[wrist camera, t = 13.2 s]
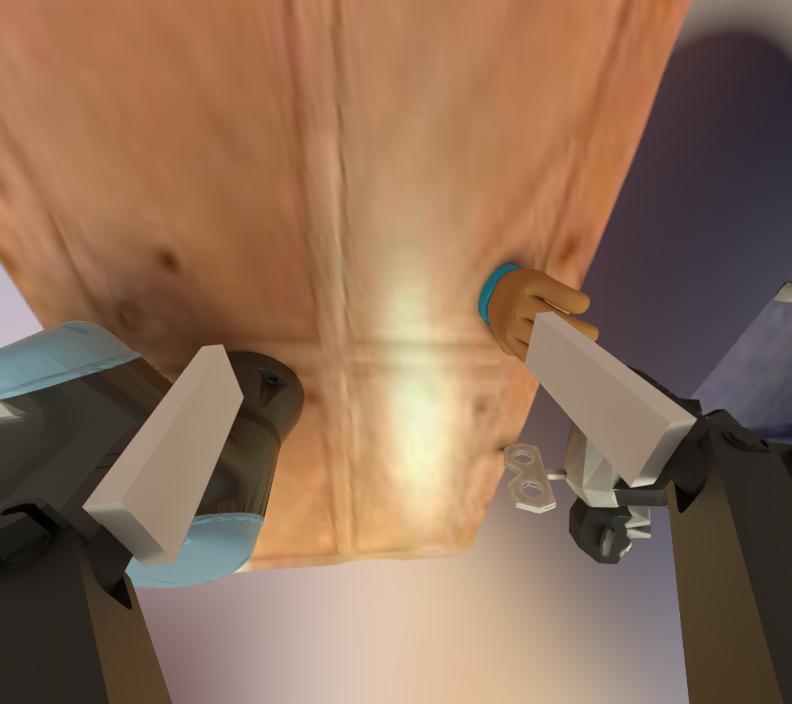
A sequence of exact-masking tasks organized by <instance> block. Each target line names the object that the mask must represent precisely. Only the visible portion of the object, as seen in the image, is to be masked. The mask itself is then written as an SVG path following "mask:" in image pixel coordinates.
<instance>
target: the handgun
mask: <svg viewBox="0 0 792 704" xmlns="http://www.w3.org/2000/svg"><path fill="white" fill-rule="evenodd" d="M773 300H776V301H782V302H789V303H792V283H786V284H785V285H784V286H783V287H782V288H781V290H780V291H779V292H778V294H777V295H776V296H775V298H774V299H773Z"/></svg>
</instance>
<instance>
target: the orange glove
mask: <svg viewBox="0 0 792 704" xmlns="http://www.w3.org/2000/svg"><path fill="white" fill-rule="evenodd" d="M544 300H546V301H548V302H550V303H551V304H553V305H555V306H557V307H559V308H561V309H563V310H565V311H567V312H570V313H573V314H581V313H583V312H584V311H585V310H586V309H587V308H588V306H589V302H590V299H589V298H588V296H587V295H585V294H584V293H582V292H580V291H577V290H575V289H573V288H570V287H568V286H566V285H564V284H562V283H561V282H559V281H557V280H555V279H553V278H551V277H550V276H548V275H547V274H545V273H543V272H540V271H538V270H533V269H519V268H518V267H516V266H515V265H513V264H506V265H504V266H502V267H500V268H498V269H497V270H496V271H495V272H494V273H493V274H492V275H491V276H490V277H489V279H488V280H487V282H486V283H485V285H484V287H483V289H482V292H481V295H480V298H479V312H480V315H481V316H482V317H483V319H484V320H485V321H486V323H487V324H488V325H490V326H491V329H492V331H493V333H494V336H495V338H496V340H497V342H498V344H499V346H500V347H501V349H502V350H503V352H504V353H506V354H507V355H510V356H517V357H518V358H519V359H520V360H521V361H522V362H523V363H525V360H526V356H527V352H528V347H529V343H530V338H531V334H532V330H533V325H534V321H535V317H536V313H542V312H552V311H553V312H554V313H556V314H557V315H558V316H560V317H561V318H562V319H564V320H565V321H566V322H568V323H569V324H570V325H572V326H573V327H574V328H576V329H577V330H578V331H580V332H581V333H582V334H584V335H585V336H586V337H588V338H589V339H590V340H592V341H593V342H595V341H596V340H597V338H598V330H597V328H596V327H594V326H592V325H590V324H588V323H586V322H583V321H581V320H579V319H576V318H574V317H572V316H570V315H568V314H566V313H564V312H562V311H561V310H559V309H557V308H555V307H553V306H552V305H550V304H548V303H547V302H545V301H544Z"/></svg>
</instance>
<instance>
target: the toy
mask: <svg viewBox="0 0 792 704" xmlns="http://www.w3.org/2000/svg"><path fill="white" fill-rule="evenodd" d="M680 399H681V400H683V401H684V402H685V403H687V404H688V405H689V406H691V407H692V408H694V409H695V410H696V411H698V412H699V413H701V414H702V409H701V405H700V401H699V400H694V399H682V398H680ZM704 416H705V417H706V418H707V419H709V420H710V421H712V422H713V423H722V422H725V423H730V424H735V425H738V426H740V424H739V423H738V422H737V421H736V420H735V419H734V418H733V417H732V416H731V415H730V414H729V413H728V412H727V411H726V410H725V409H718V410H714V411H712V412H710V413H708V414H706V415H704ZM522 454H524V455H526V456H528V457H530V458H531V459H532V461H530V462H527V463H521V462H520V461H518V460H516V459H515V457H516V456H519V455H522ZM504 466H505V467H507V468H509V469H510V470H512V471H513V472H515V473H517V474H518V475H517V476H516V477H515V478H514V479H512V480H511V481H510V482H509V483H508V490H509V492H510V494H511V497H512V499H513V501H514V504H515V506H516V507H517V508H521V509H525V510H529V511H533V512H537V513H542V512H544V511H547V510H549V509H552V508H555V507H556V501H555V498H554V495H553V492H552V489H551V486H550V483H549V479H553V480H559V479H560V480H566V481H567V483H568V484H569V485H570V487H571V488H572V489H573V491H574V492H575V494H576V495H577V497H578V498H577V500H576V502H575V503H574V504H573V506H572V507H571V509H570V519H569V520H570V521H569V532H570V534H571V535H572V537H573V539H574V540H575V542H576V543H577V545H578V547H579V548H581V549H582V550H583V551H584V552H585V553H587V554H588V555H590V556H591V557H592V558H593V559H594V560H595V561H597V562H598V563H607V564H617V563H618V562H619V560H620V558H621V557H622V555H623V554H624V552H627V551H628V550H630V549H631V545H632V543H631V541H632V539H633V538H650V536H651V523H650V510H649V507H648V506H667V507H668V498H667V499H665V500H664V502H663V503H662V504H661V505H658V504H656V502H657V498H658V497H659V496H660V494H661V493H662V491H663V490H664V489H665V487H666V486H667V484H668V483H669V482H670V480H671V479H670V478H669V477H668V476H667V475H666V474H665V473H664V472H663V471H662V472H661V473H660V475H659V476H658V478H657V479H656V481H655V482H654V484H650V485H644V486H638V487H631V488H630V486H629V485H628V484H627V483H626V482H625V481H624V480H623V478H622V477H621V476H620V475H619V474H618V473H617V471H616V470H615V469H614V468H613V467H612V466H611V464H610V463H609V462H608V461H607V460H606V459H605V458H604V456H603V455H602V454H601V453H600V452H599V451H598V449H597V448H596V447H595V446H594V445H593V444H592V442H591V441H590V440H589V439H588V438H587V437H586V435H585V434H584V433H583V432H582V431H581V430H580V429H579V427H578V426H577V425H576V424H575V423H574V422H572V426H571V431H570V435H569V439H568V443H567V448H566V452H565V457H564V461H563V469H545V467H544V464H543V461H542V458H541V455H540V452H539V449H538V447H536V446H532V445H529V444H525V443H519V444H515V445H510V446H506V447H505V451H504ZM527 486H532V487H534V488H538V489H539V490H540V493H541V495H539V496H538V497H537V498H533V497H530V496H527V495H524V492H523V490H522V489H524V488H525V487H527Z"/></svg>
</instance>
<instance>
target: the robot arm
mask: <svg viewBox="0 0 792 704" xmlns="http://www.w3.org/2000/svg"><path fill="white" fill-rule="evenodd" d="M141 356H142V354H141V353H140V352H139V351H134V350H132V349H131V348H130V347H128V346H127V345H126V344H125V343H123V342H122V341H121V340H119V339H118V338H117V337H116V336H114V335H113V334H112V333H111V332H109V331H108V330H107V329H105V328H104V327H102V326H101V325H99V324H97V323H94V322H90V321H84V320H73V321H67V322H64V323H61V324H58V325H55V326H53V327H50V328H48V329H46V330H43V331H41V332H38V333H36V334H34V335H32V336H29V337H26V338H24V339H22V340H19V341H17V342H14V343H12V344H10V345H8V346H5V347H3V348H0V704H172V702H171V699H170V696H169V693H168V690H167V687H166V684H165V681H164V678H163V675H162V671H161V669H160V665H159V662H158V659H157V656H156V653H155V650H154V648H153V645H152V641H151V638H150V635H149V632H148V629H147V627H146V623H145V620H144V617H143V615H142V611H141V608H140V605H139V602H138V599H137V596H136V593H135V590H134V587H133V586H135V587H145V588H146V587H147V588H172V587H173V588H174V587H185V586H192V585H198V584H203V583H207V582H211V581H214V580H217V579H220V578H223V577H225V576H228V575H230V574H232V573H233V572H235V571H237V570H238V569H239V568H241V567H242V566H243V565H244V564H245V563H246V562H247V561H248V559H249V558H250V556H251V554H252V553H253V550H254V547H255V544H256V541H257V538H258V534H259V531H260V528H261V527H262V525H263V524H264V517H265V513H266V508H267V504H268V499H269V495H270V490H271V486H272V482H273V477H274V473H275V468H276V464H277V459H278V455H279V451H280V447H281V444H282V443H283V442H284V440H285V439H286V438H287V436H288V435H289V433H290V432H291V431H292V429H293V428H294V426H295V425H296V424H297V422H298V420H299V418H300V416H301V413H302V409H303V404H304V392H303V388H302V385H301V383H300V382H299V380H298V378H297V377H296V376H295V375H294V373H293V372H292V371H291V370H289V369H288V368H287V367H286V366H284V365H283V364H281V363H280V362H278V361H276V360H274V359H272V358H269V357H266V356H263V355H259V354H255V353H247V352H235V353H228V354H226V352H225V349H224V347H223V344H221V345H211V346H202V347H201V349H200V350H199V351H198V353H197V354H196V355H195V357H194V358H193V359H192V361H191V362H190V363H189V365H188V366H187V367H186V369H185V370H184V371H183V373H182V374H181V375H180V377H179V378H178V379H177V381H176V382H175V383H174V385H173V384H172V383H171V382H169V381H168V380H167V379H166V378H165V377H164V376H163V375H161V374H160V373H159V372H158V371H157V370H156V369H155V368H153V367H152V366H151V365H150V364H149V363H148V362H146V361H145V360H144V359H143V358H142V357H141ZM525 366H526V367H527V368H528V369H529V371H530V372H531V373H532V374H533V375H534V376H535V378H536V379H537V380H538V381H539V382H540V383H541V384H542V386H543V387H544V388H545V389H546V390H547V391H548V393H549V394H550V395H551V396H552V397H553V398H554V399H555V400H556V402H557V403H558V404H559V405H560V406H561V408H562V409H563V410H564V411H565V412H566V413H567V415H568V416H569V417H570V418H571V419H572V420H573V422H574V423H575V424H576V425H577V426H578V427H579V429H580V430H581V431H582V432H583V433H584V434H585V435H586V437H587V438H588V439H589V440H590V441H591V442H592V444H593V445H594V446H595V447H596V448H597V449H598V451H599V452H600V453H601V454H602V455H603V456H604V458H605V459H606V460H607V461H608V462H609V463H610V464H611V466H612V467H613V468H614V469H615V470H616V471H617V473H618V474H619V475H620V476H621V477H622V478H623V480H624V481H625V482H626V483H627V484H628V485H629V486H630V488H631V487H638V486H644V485H650V484H654V482H655V481H656V479H657V478H658V476H659V475H660V473H661V472H662V471H663V472H664V473H665V474H666V475H667V476H668V477H669V478H670V479H671V480H670V482H669V483H668V484H667V486H666V487H665V489H664V490H663V491H662V493H661V494H660V496H659V497H658V498H657V502H656V504H658V505H661V504H662V503H663V502H664V500H665V499H667V498H668V507H667V508H668V509H669V514H670V524H671V534H672V543H673V553H674V561H675V570H676V581H677V590H678V600H679V610H680V619H681V629H682V638H683V648H684V657H685V666H686V676H687V686H688V695H689V704H792V444H784V443H775V442H769V441H768V440H766V439H765V438H764V437H762V436H761V435H759V434H757V433H755V432H753V431H751V430H749V429H747V428H744V427H741V426H738V425H735V424H730V423H725V422H722V423H713V422H712V421H710V420H709V419H707V418H706V417H705V416H703V415H702V414H701V413H699V412H698V411H696V410H695V409H694V408H692V407H691V406H689V405H688V404H687V403H685V402H684V401H683V400H681V399H680V398H678V397H677V396H675V395H674V394H673V393H669V390H667V389H666V388H665V387H663V386H662V385H658V382H656V381H655V380H653V379H652V378H651V377H649V376H648V375H647V374H645V373H643V372H641V371H639V370H637V369H634V368H632V367H630V366H625V365H624V364H623V363H621V362H620V361H619V360H617V359H616V358H614V357H613V356H612V355H611V354H609V353H608V352H606V351H605V350H604V349H602V348H601V347H600V346H598V345H597V344H596V343H594V342H593V341H592V340H590V339H589V338H588V337H586V336H585V335H584V334H582V333H581V332H580V331H578V330H577V329H576V328H574V327H573V326H572V325H570V324H569V323H568V322H566V321H565V320H564V319H562V318H561V317H560V316H558V315H557V314H556V313H554V312H553V311H552V312H542V313H536V317H535V321H534V325H533V330H532V334H531V338H530V343H529V347H528V352H527V356H526V360H525Z"/></svg>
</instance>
